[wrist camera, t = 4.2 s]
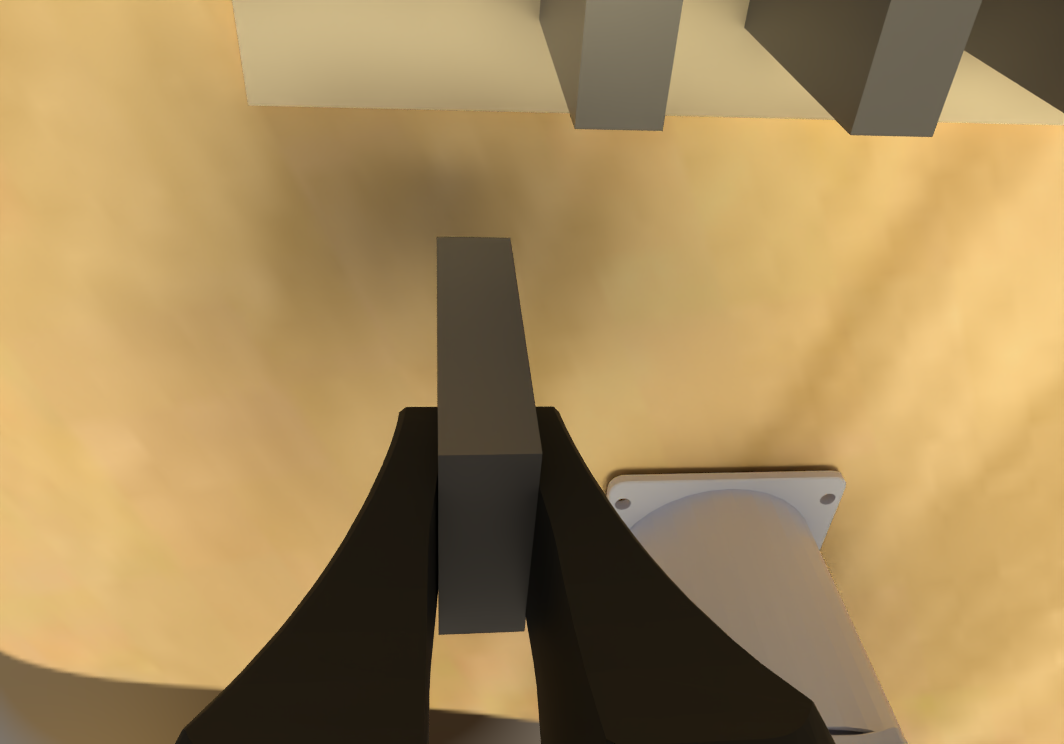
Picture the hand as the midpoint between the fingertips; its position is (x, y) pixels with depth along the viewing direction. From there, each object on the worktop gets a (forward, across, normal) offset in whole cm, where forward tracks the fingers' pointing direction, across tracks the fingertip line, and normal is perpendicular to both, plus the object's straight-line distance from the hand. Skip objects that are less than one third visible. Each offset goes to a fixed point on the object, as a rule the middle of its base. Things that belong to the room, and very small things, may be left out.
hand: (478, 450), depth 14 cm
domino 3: (+8, -7, -7) cm, 13 cm away
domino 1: (+4, 0, 0) cm, 4 cm away
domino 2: (+8, -2, -7) cm, 11 cm away
